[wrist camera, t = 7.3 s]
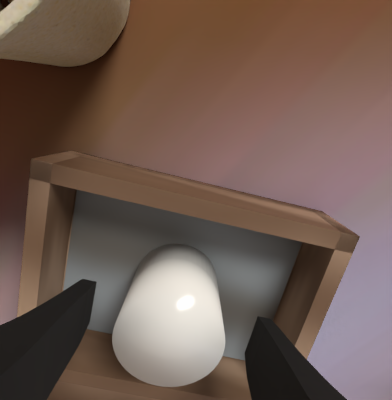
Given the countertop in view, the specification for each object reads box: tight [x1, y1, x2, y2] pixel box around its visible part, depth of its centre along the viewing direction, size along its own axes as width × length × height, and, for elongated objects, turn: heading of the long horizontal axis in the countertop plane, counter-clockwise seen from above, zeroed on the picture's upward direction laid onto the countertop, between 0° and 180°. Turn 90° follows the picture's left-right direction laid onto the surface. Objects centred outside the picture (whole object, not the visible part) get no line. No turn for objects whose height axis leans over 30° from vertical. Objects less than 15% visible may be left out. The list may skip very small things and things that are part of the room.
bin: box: [17, 151, 360, 400], centre depth 15 cm, size 20×14×4 cm, turn 166°
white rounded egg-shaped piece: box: [112, 243, 225, 387], centre depth 13 cm, size 4×4×4 cm
